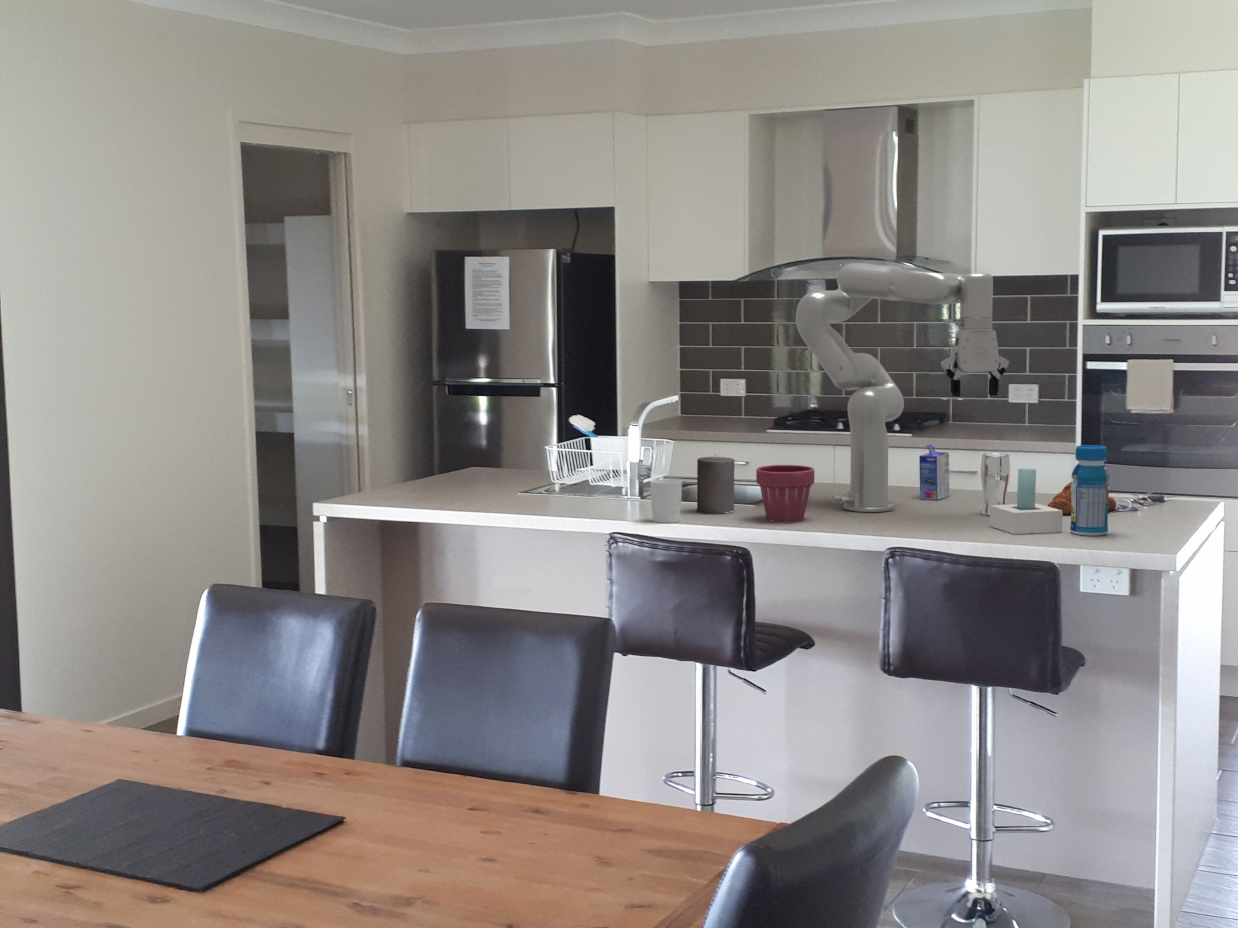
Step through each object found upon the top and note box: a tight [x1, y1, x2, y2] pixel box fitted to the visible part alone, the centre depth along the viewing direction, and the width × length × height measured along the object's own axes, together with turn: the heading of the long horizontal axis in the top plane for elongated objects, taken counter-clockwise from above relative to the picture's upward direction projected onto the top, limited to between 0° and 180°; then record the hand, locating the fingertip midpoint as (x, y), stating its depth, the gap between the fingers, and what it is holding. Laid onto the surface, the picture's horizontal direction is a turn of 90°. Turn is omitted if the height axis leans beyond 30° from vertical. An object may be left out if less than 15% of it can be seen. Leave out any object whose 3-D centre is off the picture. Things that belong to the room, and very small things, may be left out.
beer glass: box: [980, 452, 1011, 516], centre depth 334 cm, size 7×7×15 cm
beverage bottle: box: [1069, 444, 1111, 537], centre depth 304 cm, size 8×8×20 cm
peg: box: [1016, 468, 1037, 510], centre depth 311 cm, size 4×4×14 cm
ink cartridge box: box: [918, 444, 950, 501], centre depth 364 cm, size 10×6×14 cm, turn 148°
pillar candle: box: [696, 453, 735, 515], centre depth 344 cm, size 10×10×15 cm
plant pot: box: [755, 464, 815, 522], centre depth 330 cm, size 14×14×13 cm
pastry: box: [1046, 481, 1117, 516], centre depth 337 cm, size 17×15×8 cm
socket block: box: [988, 502, 1064, 535], centre depth 311 cm, size 12×12×5 cm
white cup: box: [649, 478, 683, 524], centre depth 329 cm, size 8×8×10 cm
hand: (974, 395), depth 324 cm, fingers open, 9 cm apart
